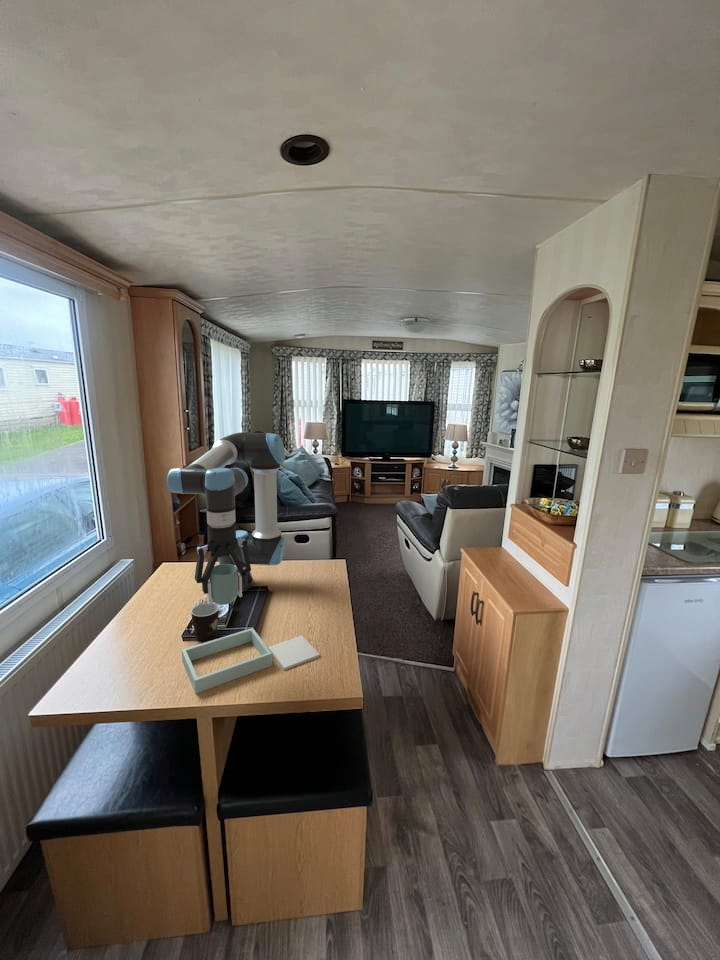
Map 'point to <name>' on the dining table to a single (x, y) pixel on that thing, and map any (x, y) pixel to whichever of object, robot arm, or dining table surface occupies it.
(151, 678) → the dining table surface
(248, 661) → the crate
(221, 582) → the cup
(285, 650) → the plate
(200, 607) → the coffee mug
